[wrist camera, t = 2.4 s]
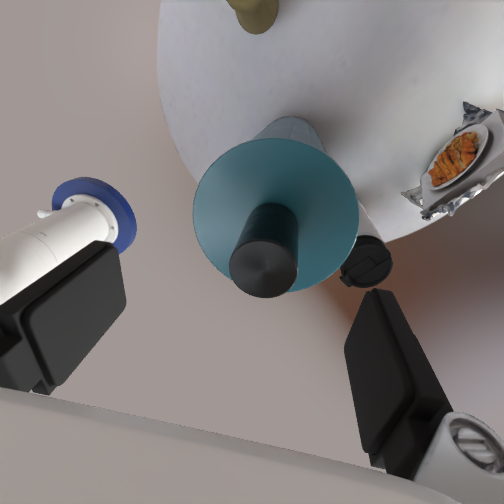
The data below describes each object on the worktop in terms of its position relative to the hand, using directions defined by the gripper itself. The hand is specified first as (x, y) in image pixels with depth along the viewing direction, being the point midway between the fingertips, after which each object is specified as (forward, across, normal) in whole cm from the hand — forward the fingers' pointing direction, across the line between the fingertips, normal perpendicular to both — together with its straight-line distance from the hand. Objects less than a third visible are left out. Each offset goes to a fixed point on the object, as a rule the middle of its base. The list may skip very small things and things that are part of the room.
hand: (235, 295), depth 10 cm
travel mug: (+41, -13, +10) cm, 44 cm away
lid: (+10, -1, +1) cm, 10 cm away
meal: (+41, -24, -2) cm, 48 cm away
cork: (+41, +7, -17) cm, 45 cm away
